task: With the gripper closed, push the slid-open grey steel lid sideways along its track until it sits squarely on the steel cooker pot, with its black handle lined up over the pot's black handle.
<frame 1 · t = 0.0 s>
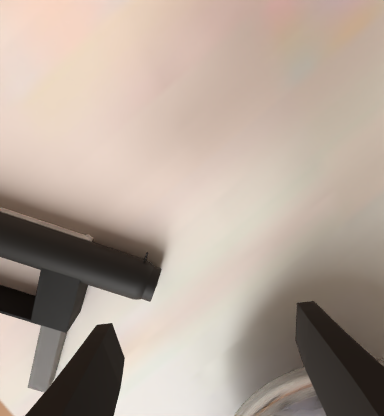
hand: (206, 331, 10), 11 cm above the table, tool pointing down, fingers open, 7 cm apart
gun: (29, 289, 23), on the table
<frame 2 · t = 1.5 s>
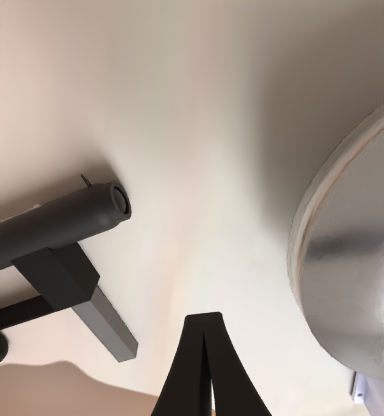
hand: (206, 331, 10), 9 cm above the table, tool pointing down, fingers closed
gun: (51, 288, 22), on the table
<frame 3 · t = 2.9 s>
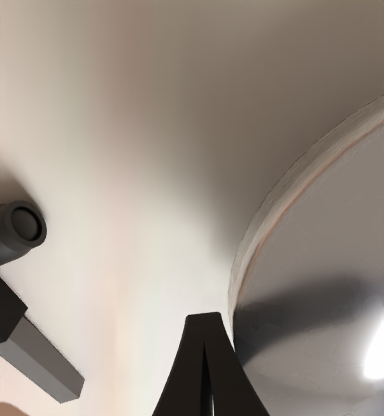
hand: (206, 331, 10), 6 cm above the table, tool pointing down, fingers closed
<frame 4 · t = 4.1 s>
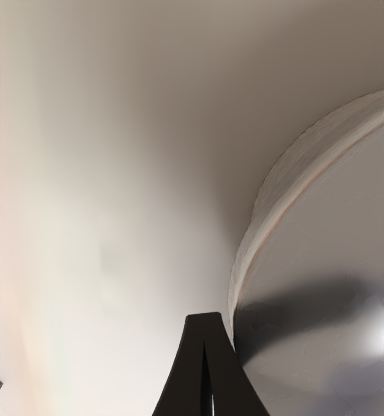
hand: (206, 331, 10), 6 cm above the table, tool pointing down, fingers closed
cooker pot: (378, 226, 15), on the table
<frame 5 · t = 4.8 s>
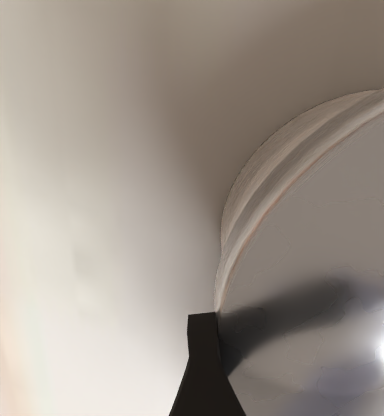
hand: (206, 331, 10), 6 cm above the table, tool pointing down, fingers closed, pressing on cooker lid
cooker pot: (349, 230, 15), on the table
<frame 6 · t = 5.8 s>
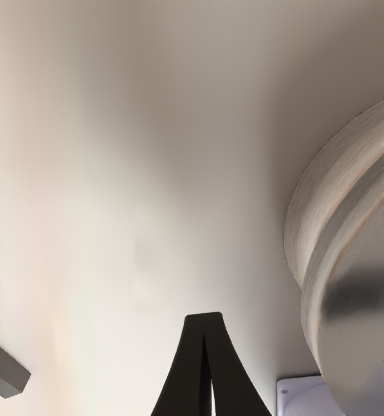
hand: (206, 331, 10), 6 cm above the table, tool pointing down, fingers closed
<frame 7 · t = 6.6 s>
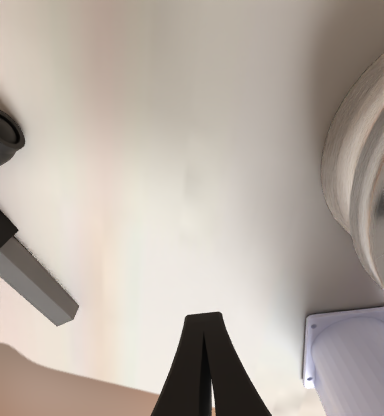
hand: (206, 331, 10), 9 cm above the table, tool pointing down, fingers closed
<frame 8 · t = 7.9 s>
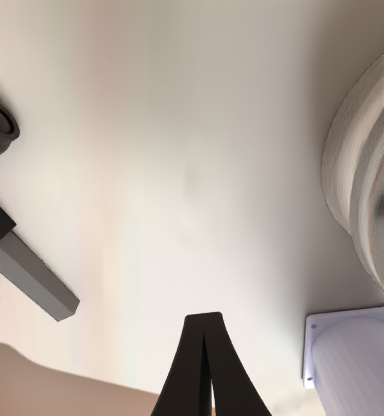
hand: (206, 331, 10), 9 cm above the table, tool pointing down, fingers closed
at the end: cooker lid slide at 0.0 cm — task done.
